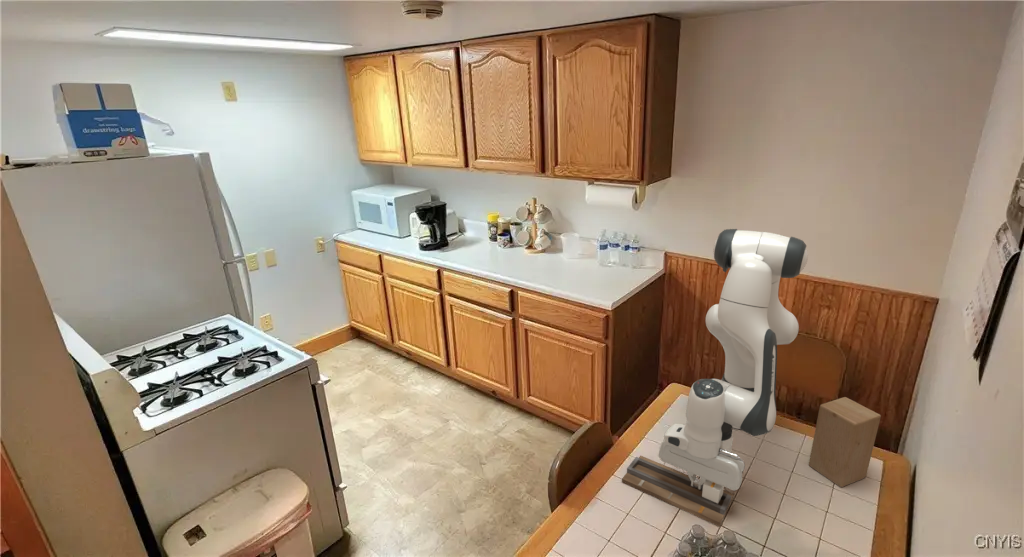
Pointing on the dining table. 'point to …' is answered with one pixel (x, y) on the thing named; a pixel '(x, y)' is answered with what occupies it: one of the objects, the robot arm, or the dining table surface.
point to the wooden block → (843, 441)
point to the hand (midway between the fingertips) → (696, 486)
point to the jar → (726, 437)
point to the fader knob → (712, 491)
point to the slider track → (675, 489)
